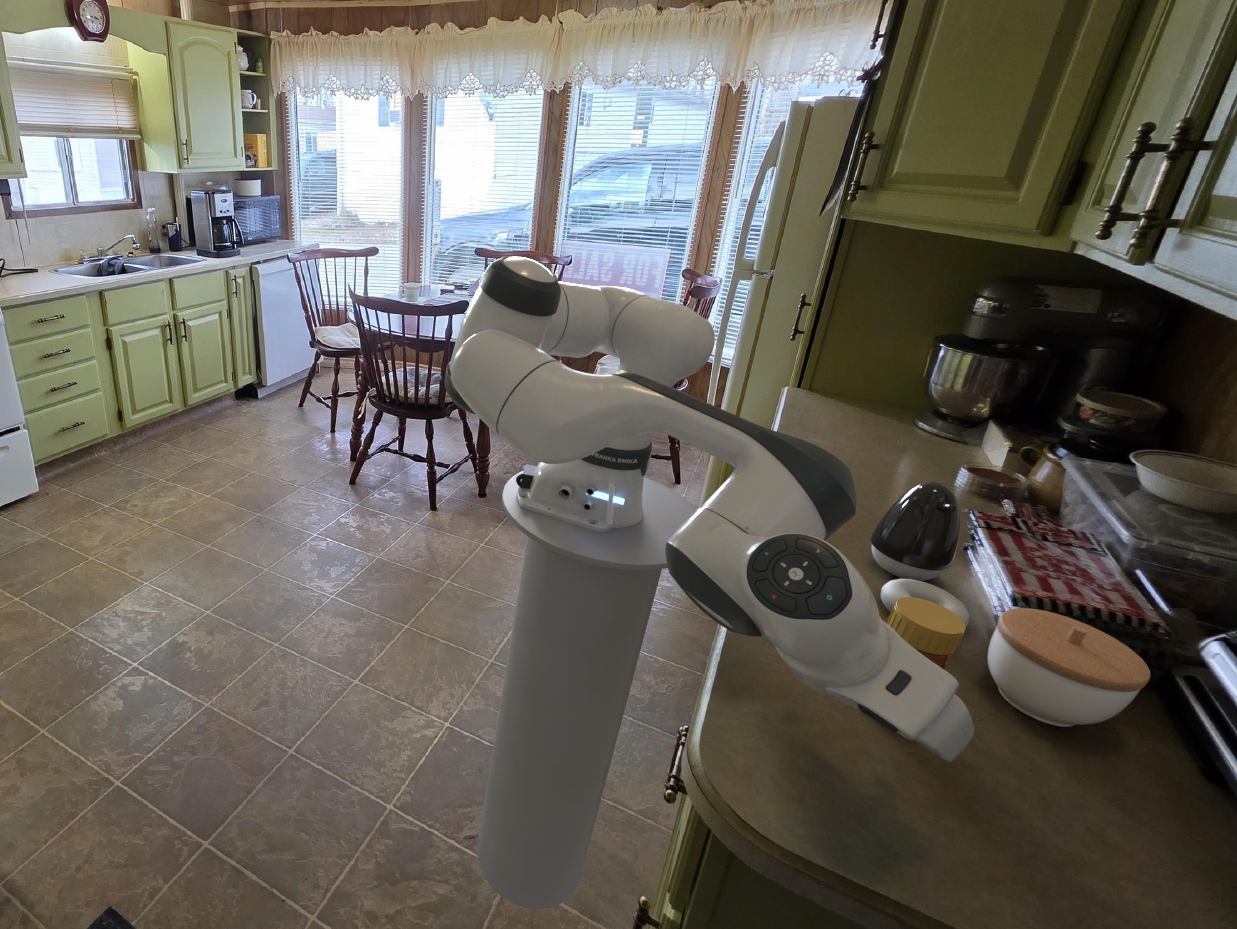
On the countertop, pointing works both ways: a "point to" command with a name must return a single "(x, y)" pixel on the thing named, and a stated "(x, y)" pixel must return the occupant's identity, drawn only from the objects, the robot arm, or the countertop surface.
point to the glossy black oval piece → (918, 533)
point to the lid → (926, 625)
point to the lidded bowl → (1062, 668)
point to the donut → (922, 595)
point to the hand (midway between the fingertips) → (856, 690)
